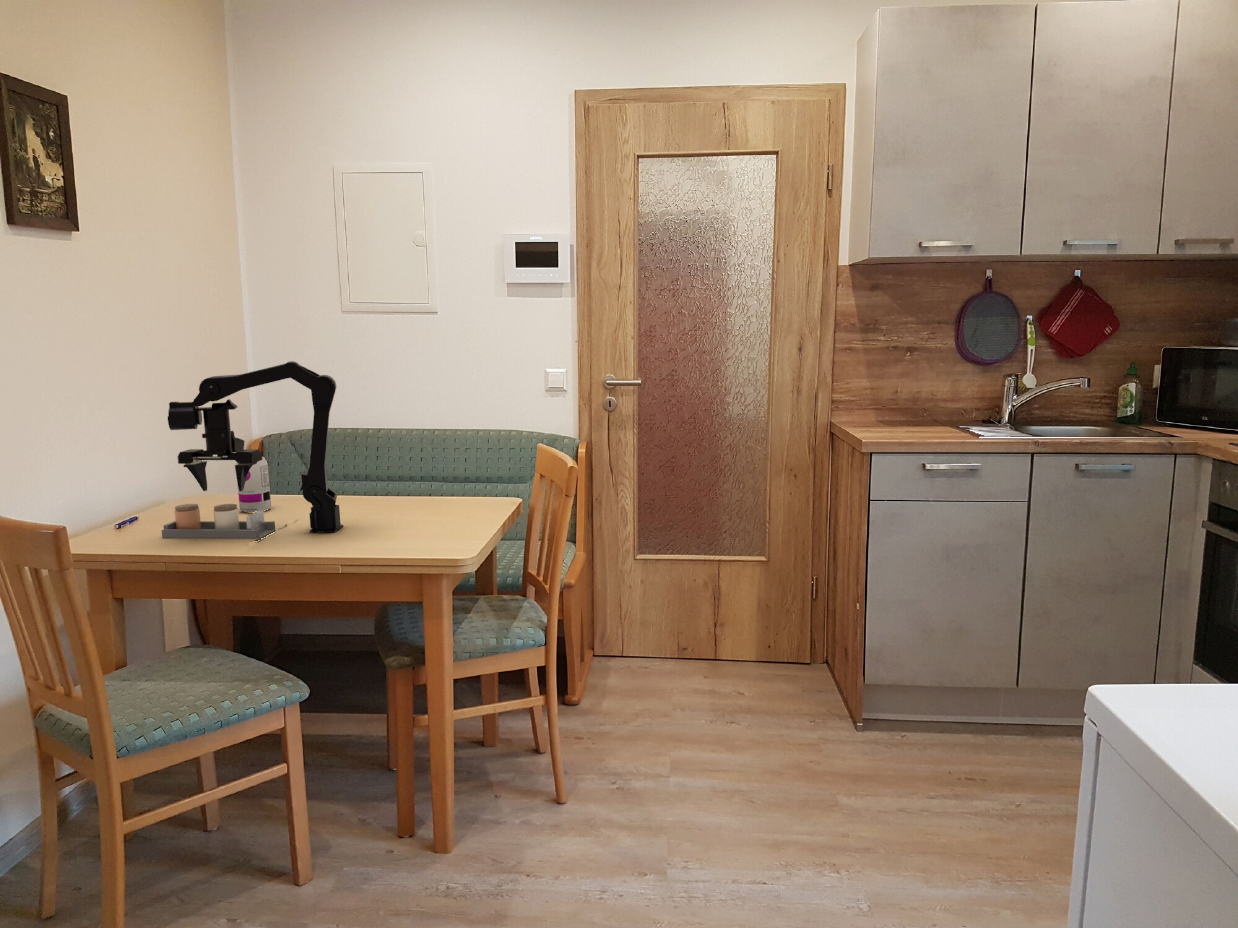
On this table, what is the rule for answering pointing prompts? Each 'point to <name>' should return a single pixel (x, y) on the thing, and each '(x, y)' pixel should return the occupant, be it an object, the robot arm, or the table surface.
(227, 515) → the cream jar
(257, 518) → the plate
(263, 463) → the supplement can
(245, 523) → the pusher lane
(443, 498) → the table surface
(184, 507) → the front jar
